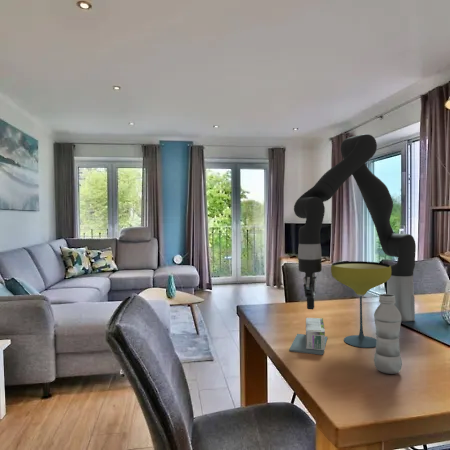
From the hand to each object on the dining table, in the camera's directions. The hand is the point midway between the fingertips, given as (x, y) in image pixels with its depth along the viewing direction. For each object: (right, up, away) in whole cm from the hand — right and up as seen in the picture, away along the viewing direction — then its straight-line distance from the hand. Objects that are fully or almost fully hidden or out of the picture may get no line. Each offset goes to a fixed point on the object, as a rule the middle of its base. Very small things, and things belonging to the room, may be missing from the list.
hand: (310, 308), depth 117 cm
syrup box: (+2, -7, +3) cm, 8 cm away
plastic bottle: (+14, -11, -26) cm, 31 cm away
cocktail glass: (+16, -10, -4) cm, 19 cm away
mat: (-2, -10, -5) cm, 12 cm away
